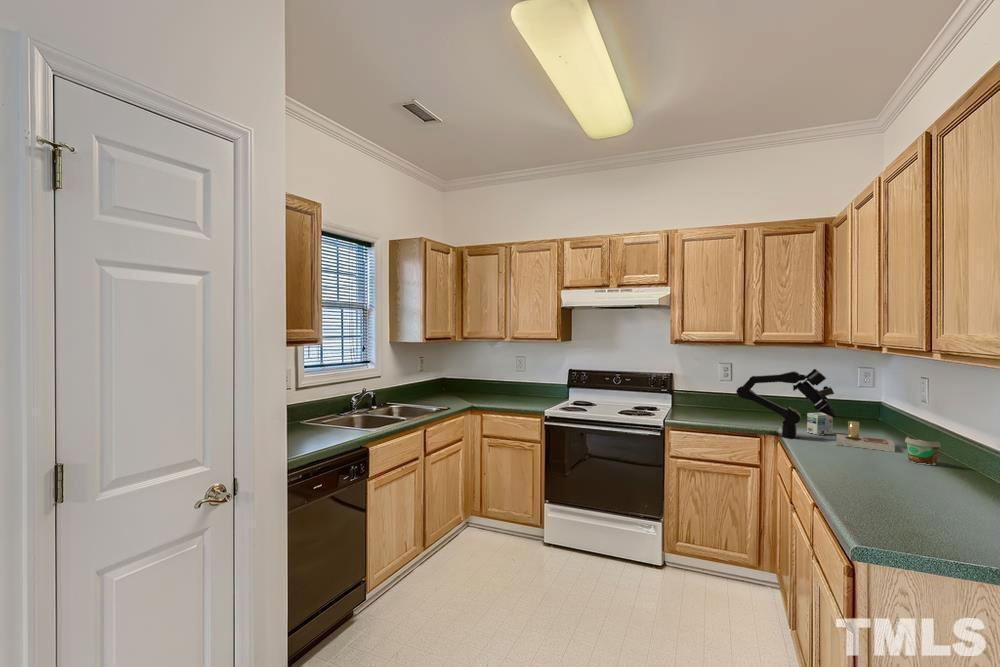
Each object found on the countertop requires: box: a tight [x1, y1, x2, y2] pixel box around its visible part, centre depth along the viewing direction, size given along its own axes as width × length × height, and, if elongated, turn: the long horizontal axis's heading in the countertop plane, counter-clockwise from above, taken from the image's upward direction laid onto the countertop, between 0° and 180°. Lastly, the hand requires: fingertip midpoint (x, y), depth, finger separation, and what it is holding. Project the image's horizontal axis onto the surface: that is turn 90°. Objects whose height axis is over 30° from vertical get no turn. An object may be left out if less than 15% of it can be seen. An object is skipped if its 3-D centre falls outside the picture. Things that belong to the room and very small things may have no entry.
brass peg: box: [847, 420, 860, 440], centre depth 242 cm, size 4×4×11 cm
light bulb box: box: [806, 412, 834, 436], centre depth 266 cm, size 11×7×11 cm, turn 105°
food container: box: [904, 435, 942, 464], centre depth 210 cm, size 12×6×10 cm, turn 21°
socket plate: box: [835, 433, 896, 453], centre depth 240 cm, size 22×14×3 cm, turn 57°
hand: (835, 415), depth 246 cm, fingers open, 9 cm apart
